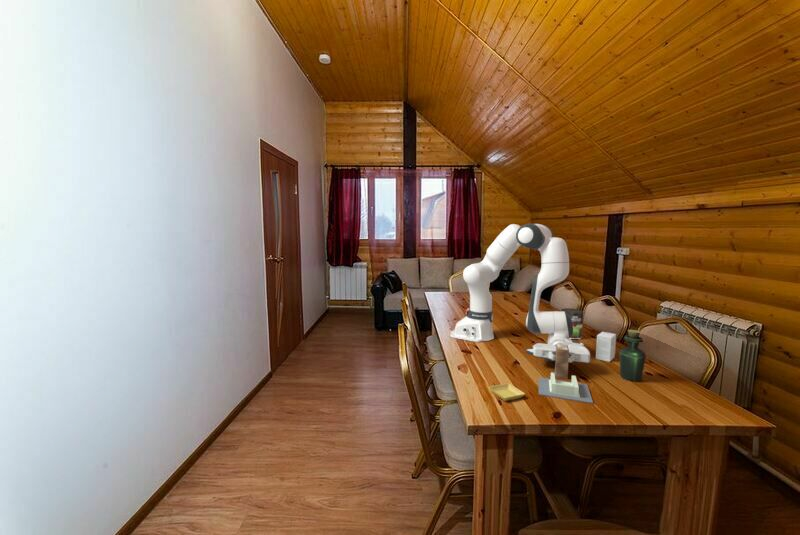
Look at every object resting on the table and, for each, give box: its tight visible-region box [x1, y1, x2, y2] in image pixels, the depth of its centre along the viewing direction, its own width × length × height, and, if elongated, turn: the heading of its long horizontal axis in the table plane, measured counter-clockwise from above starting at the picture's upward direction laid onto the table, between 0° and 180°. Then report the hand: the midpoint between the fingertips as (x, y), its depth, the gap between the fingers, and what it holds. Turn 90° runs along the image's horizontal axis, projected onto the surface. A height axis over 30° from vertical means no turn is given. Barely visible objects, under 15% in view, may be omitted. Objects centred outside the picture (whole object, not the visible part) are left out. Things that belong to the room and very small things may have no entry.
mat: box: [537, 376, 594, 404], centre depth 116 cm, size 16×14×1 cm
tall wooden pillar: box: [554, 344, 569, 380], centre depth 127 cm, size 4×6×11 cm, turn 158°
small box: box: [595, 331, 617, 362], centre depth 145 cm, size 8×6×10 cm
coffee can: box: [560, 307, 584, 340], centre depth 175 cm, size 10×10×14 cm
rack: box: [549, 371, 580, 398], centre depth 116 cm, size 9×10×3 cm
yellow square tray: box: [488, 382, 526, 402], centre depth 112 cm, size 9×9×2 cm
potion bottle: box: [618, 329, 647, 382], centre depth 125 cm, size 8×8×18 cm
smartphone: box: [525, 347, 555, 364], centre depth 148 cm, size 9×2×16 cm
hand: (561, 359), depth 126 cm, fingers closed on tall wooden pillar, 4 cm apart
